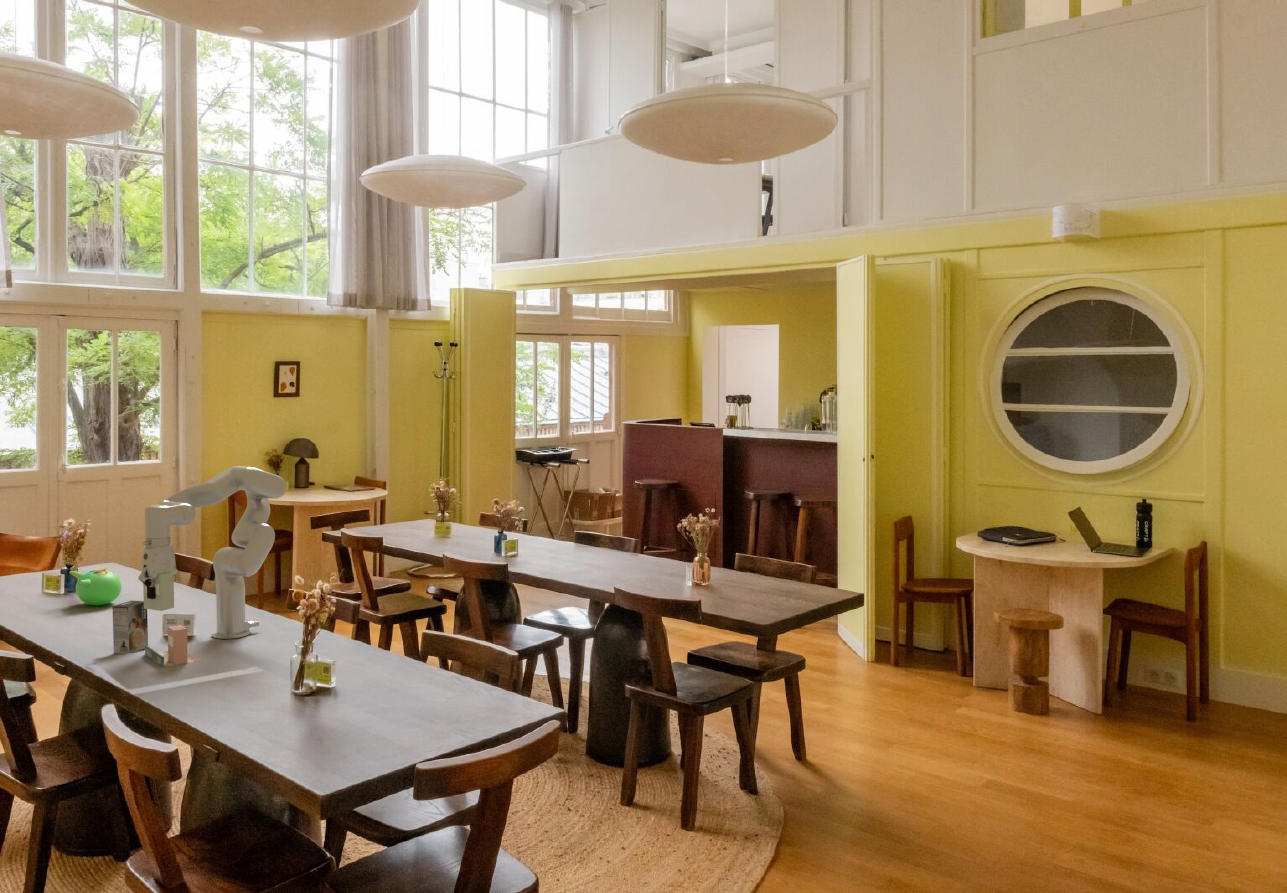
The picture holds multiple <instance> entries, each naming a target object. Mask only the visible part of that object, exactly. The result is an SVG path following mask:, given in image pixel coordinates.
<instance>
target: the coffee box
mask: <svg viewBox="0 0 1287 893" xmlns="http://www.w3.org/2000/svg"><path fill="white" fill-rule="evenodd" d="M148 620H149V619H148V609H144V600H128V601H125V602H121V603H118V604H116V605H113V606H112V636H113V637H112V638H113V639H112V640H113V641H112V642H113V643H112V644H113V653H114V654H119V655H121V654H122V655H128V654H134V653H136V652H139V651H142V650H145V646H146V645H147V646H148V647H149V633H148V632H149V629H148V627H149V626H148V622H149V621H148Z"/></svg>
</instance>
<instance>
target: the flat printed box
mask: <svg viewBox="0 0 1287 893" xmlns="http://www.w3.org/2000/svg"><path fill="white" fill-rule="evenodd" d="M144 655H145V656H146V657H147V658H149V659H150V660H151V661H153V662H154V663H156V664H157V665H159V666H160V667H162V668H164V667H165V668H167V667H172V666H175V665H174V664H172V663H171V662H169V661H168V650H167V651H159V652H157V651H156V650H154V649H153V648H151V647H150V646H149V645H148V646H147V645H146V646H145V649H144ZM199 661H200V660H199V659H198V658H195V657H194V656H193V655H191V654H189V653H188V663H187V664H189V663H194V662H199ZM183 664H185V663H183ZM183 664H182V665H183ZM177 665H179V664H177ZM177 665H176V666H177Z"/></svg>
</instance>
